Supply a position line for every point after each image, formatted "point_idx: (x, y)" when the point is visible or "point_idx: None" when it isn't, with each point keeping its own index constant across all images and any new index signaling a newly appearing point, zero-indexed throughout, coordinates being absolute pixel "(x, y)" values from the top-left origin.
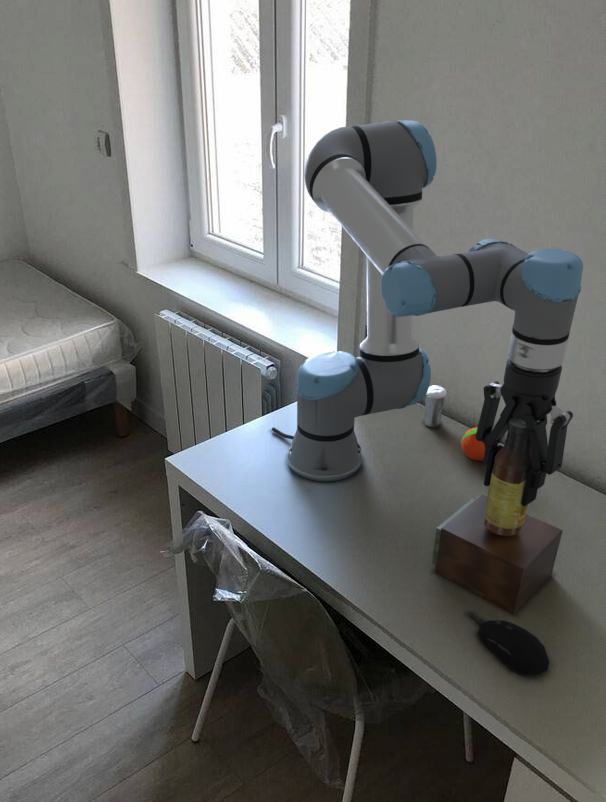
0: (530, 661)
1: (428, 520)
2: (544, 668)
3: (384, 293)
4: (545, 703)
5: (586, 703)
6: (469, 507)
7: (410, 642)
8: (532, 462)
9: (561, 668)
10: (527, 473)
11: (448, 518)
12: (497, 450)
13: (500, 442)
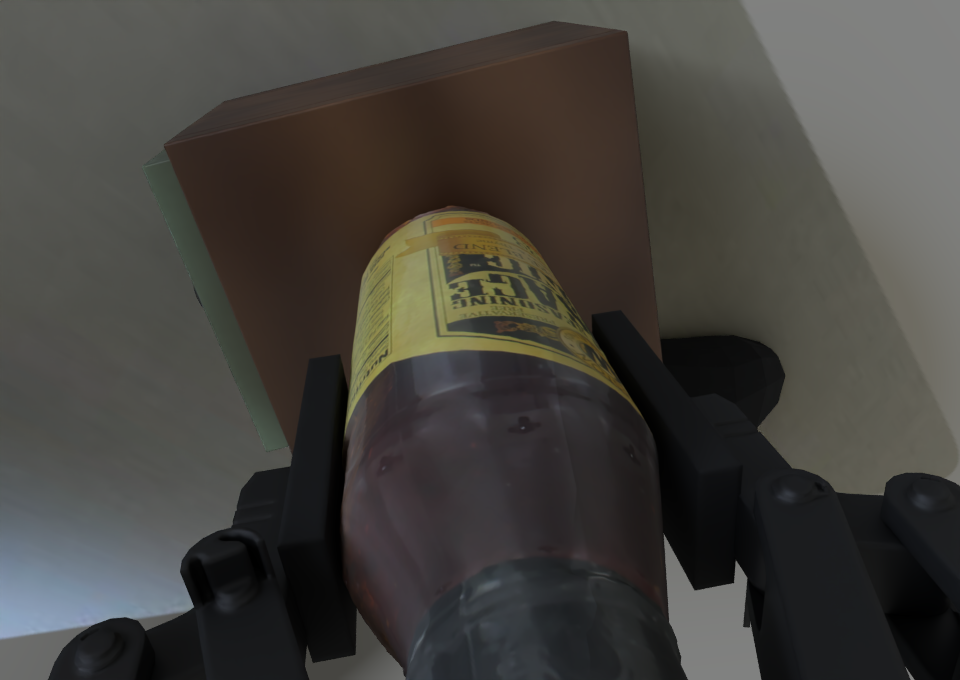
0: (761, 422)
1: (34, 183)
2: (781, 384)
3: None
4: (815, 426)
5: (884, 353)
6: (234, 284)
7: None
8: (659, 506)
9: (793, 323)
10: (680, 562)
11: (236, 378)
12: (341, 609)
13: (266, 553)
